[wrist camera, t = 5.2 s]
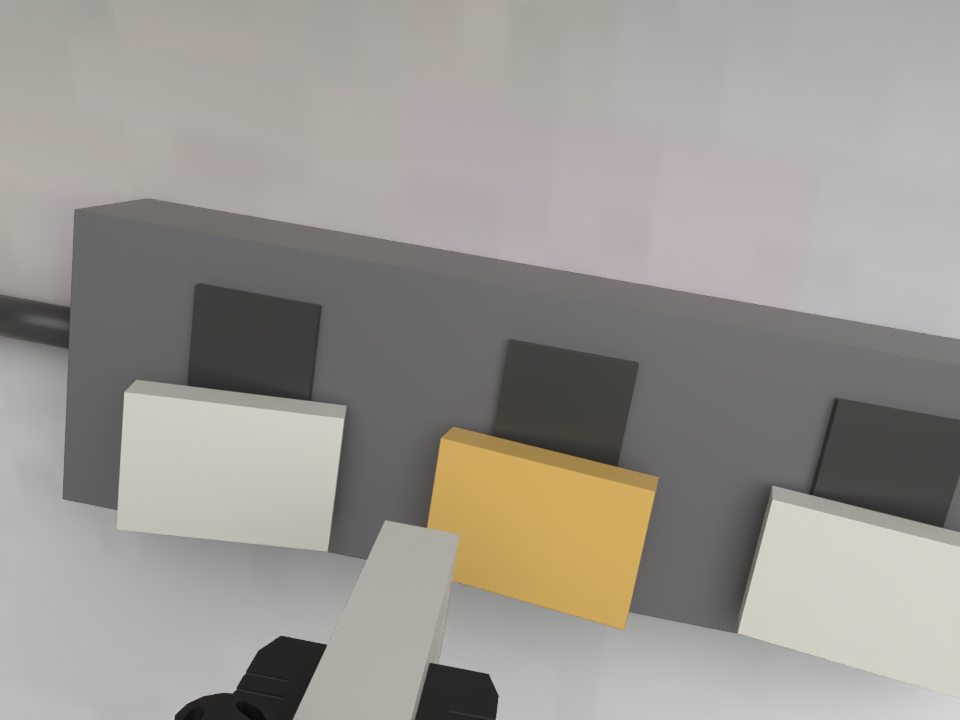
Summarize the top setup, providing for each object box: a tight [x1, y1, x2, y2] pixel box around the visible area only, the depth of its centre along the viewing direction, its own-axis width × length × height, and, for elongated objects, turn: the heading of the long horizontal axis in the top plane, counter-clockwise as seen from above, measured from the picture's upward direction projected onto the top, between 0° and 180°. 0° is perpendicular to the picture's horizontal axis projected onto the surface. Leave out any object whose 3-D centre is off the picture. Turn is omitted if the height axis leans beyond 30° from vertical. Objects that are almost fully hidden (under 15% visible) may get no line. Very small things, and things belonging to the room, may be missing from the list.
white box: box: [116, 380, 347, 552], centre depth 23 cm, size 5×4×1 cm
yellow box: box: [427, 427, 659, 630], centre depth 22 cm, size 5×4×1 cm
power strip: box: [0, 199, 960, 634], centre depth 25 cm, size 32×8×4 cm, turn 81°
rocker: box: [738, 485, 960, 698], centre depth 22 cm, size 5×4×1 cm
